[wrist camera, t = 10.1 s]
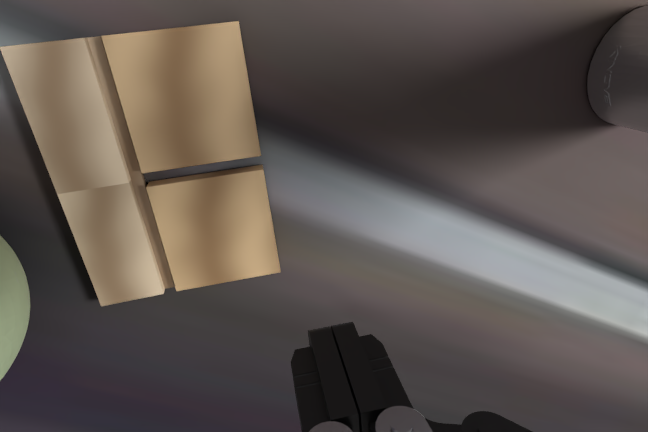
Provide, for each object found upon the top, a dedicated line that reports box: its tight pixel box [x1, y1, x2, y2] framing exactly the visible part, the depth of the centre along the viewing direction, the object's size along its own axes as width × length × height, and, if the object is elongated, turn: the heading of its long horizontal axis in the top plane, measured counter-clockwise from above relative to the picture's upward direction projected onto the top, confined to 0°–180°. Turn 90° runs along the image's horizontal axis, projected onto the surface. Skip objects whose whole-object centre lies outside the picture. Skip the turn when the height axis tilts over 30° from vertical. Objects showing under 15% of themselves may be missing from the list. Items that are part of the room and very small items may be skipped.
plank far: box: [146, 165, 281, 291], centre depth 32 cm, size 8×8×1 cm
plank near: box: [101, 21, 261, 173], centre depth 28 cm, size 8×8×1 cm
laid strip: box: [0, 36, 175, 306], centre depth 29 cm, size 5×18×1 cm, turn 6°
